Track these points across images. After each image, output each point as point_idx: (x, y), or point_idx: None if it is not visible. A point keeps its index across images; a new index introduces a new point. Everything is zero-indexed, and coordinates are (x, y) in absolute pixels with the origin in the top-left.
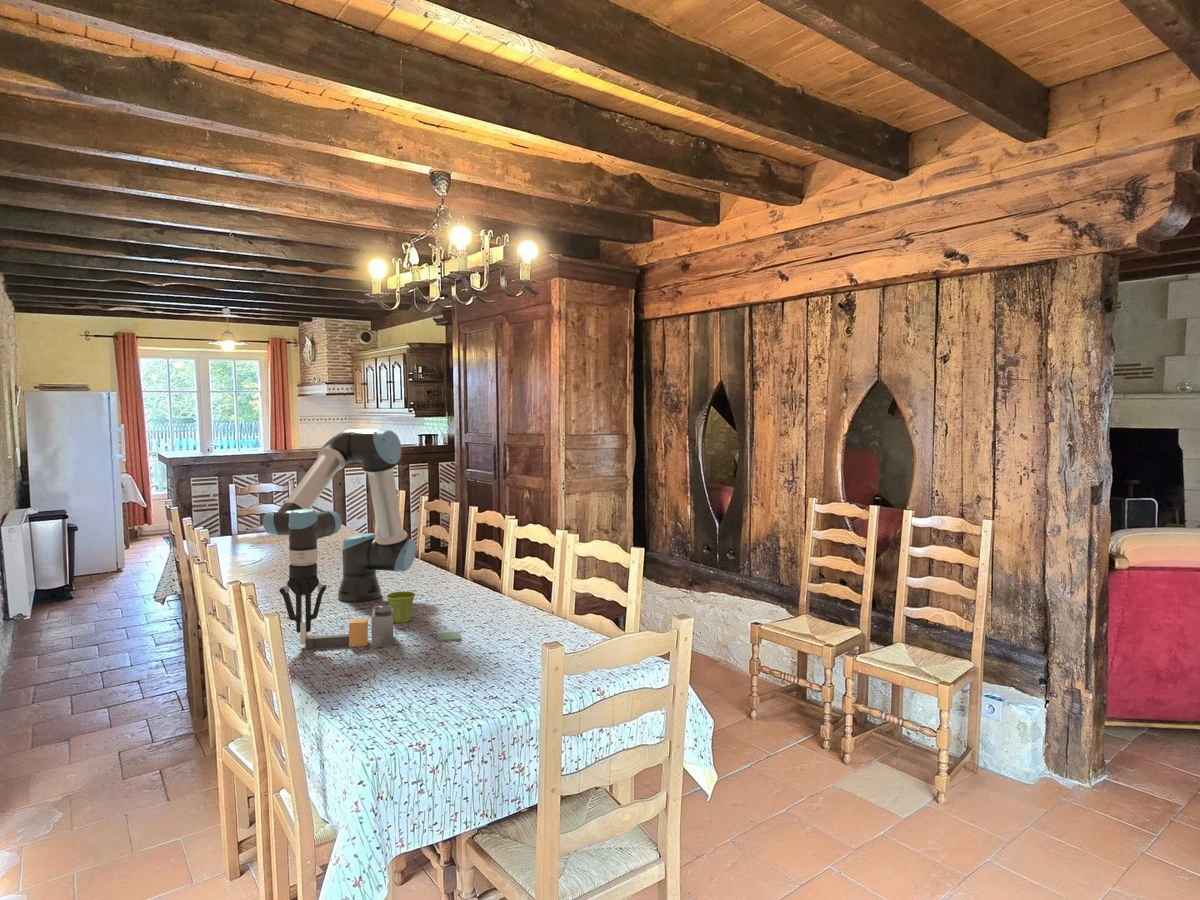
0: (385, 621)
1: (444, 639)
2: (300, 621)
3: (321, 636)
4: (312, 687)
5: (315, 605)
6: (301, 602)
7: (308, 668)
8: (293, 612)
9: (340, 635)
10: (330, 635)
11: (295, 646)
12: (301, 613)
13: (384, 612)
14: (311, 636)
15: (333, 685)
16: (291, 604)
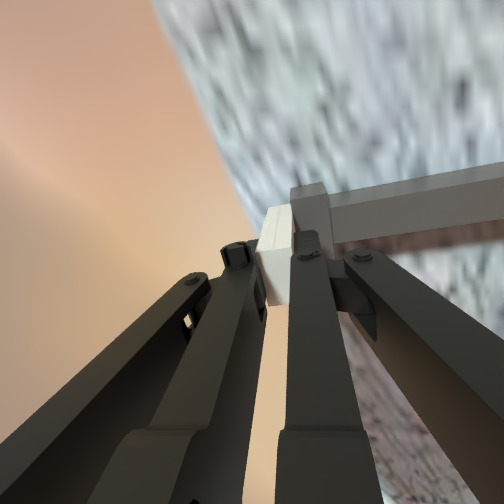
0: None
1: None
2: (264, 295)
3: (370, 214)
4: (392, 479)
5: (414, 403)
6: (230, 365)
7: (357, 394)
8: (190, 307)
9: (482, 198)
10: (419, 196)
11: (244, 203)
12: (252, 293)
13: None
14: (318, 223)
15: (442, 480)
16: (145, 372)
